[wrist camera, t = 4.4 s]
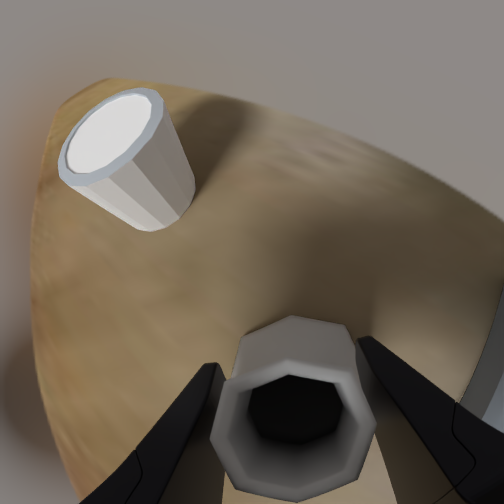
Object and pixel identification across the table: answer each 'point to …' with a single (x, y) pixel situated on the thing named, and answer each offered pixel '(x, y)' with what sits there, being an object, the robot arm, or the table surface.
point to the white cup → (130, 160)
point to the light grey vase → (293, 412)
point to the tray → (489, 377)
